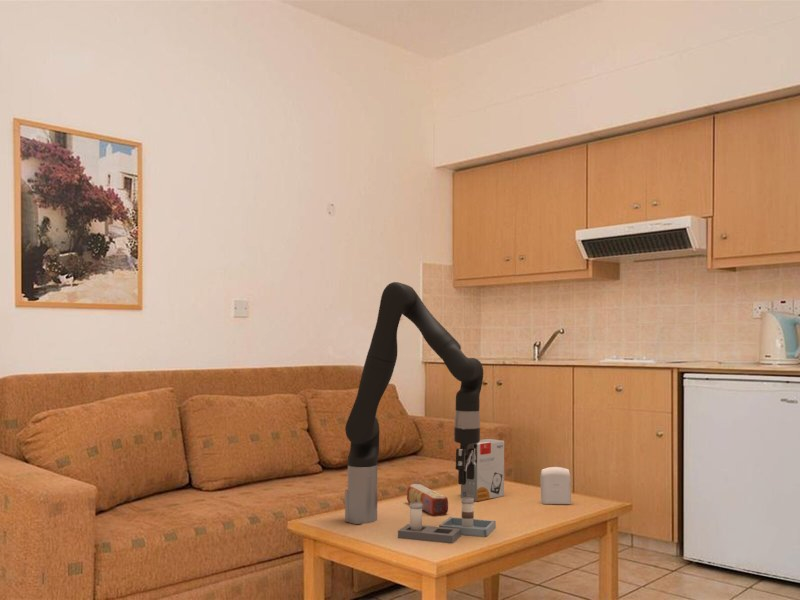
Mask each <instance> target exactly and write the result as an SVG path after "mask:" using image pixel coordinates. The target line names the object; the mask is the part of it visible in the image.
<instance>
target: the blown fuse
mask: <svg viewBox="0 0 800 600" xmlns="http://www.w3.org/2000/svg"><path fill="white" fill-rule="evenodd" d="M460 501H461V518H462V527H468V528H474V517H475V514H474V513H475V511H474V503H475V501H474V498H471V497H464V498H461V497H460Z"/></svg>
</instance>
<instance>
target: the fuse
mask: <svg viewBox="0 0 800 600" xmlns="http://www.w3.org/2000/svg"><path fill="white" fill-rule="evenodd" d="M409 524H410V530H414V531H422V525H423V509H422V503H420V502H412V503H409Z"/></svg>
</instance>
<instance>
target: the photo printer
mask: <svg viewBox="0 0 800 600" xmlns="http://www.w3.org/2000/svg"><path fill="white" fill-rule="evenodd" d="M571 479H572V477H571V473H570V469H569V468H565V467H561V466H551V467H546V468H543V469H541V471H540V503H541V504H542V505H571V504H572V481H571Z"/></svg>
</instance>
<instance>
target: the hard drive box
mask: <svg viewBox="0 0 800 600" xmlns="http://www.w3.org/2000/svg"><path fill="white" fill-rule="evenodd" d="M472 457H473V456H472ZM461 466H462V465H461ZM474 467H475V473H474V479H473V480H472V479H467V473H466V484H465V485H461V484H460V499H461V498H464V497H471V498H474V502H479V501H485V500H489V499H497V498H500V497H505V440H501V439H492V438H486V439H480V442H479V443H477V463H476V465H475V466H474Z"/></svg>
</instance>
